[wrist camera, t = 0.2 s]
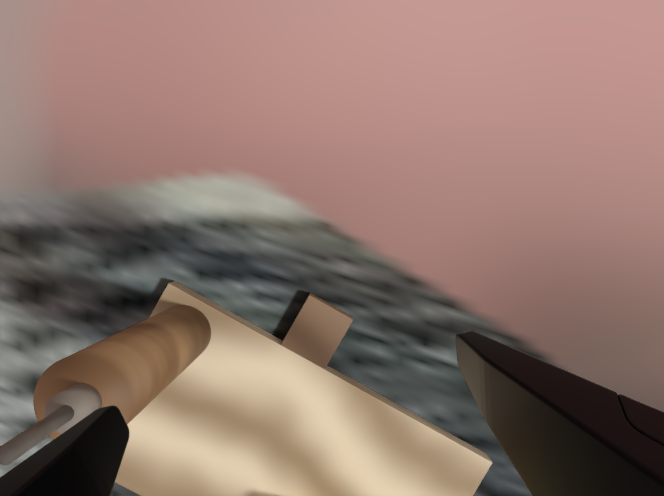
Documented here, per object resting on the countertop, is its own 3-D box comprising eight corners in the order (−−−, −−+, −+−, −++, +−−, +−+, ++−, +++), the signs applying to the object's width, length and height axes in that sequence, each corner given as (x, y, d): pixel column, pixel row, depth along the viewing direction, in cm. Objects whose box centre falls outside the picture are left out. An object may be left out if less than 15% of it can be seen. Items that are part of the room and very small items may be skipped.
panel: (364, 657, 25) (366, 674, 24) (54, 496, 24) (42, 507, 23) (513, 407, 25) (521, 414, 24) (202, 232, 24) (197, 232, 23)
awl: (194, 369, 23) (31, 537, 10) (145, 342, 23) (-82, 479, 10) (221, 322, 23) (90, 431, 10) (171, 295, 23) (-23, 371, 10)
